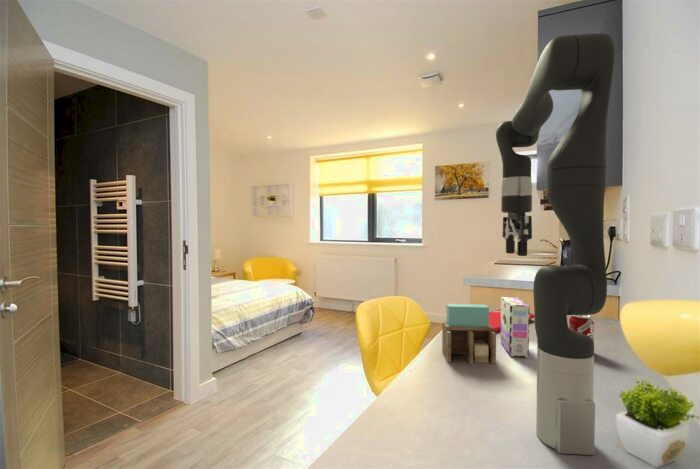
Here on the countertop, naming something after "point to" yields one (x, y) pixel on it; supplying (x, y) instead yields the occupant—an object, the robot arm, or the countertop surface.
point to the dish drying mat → (499, 320)
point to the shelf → (467, 341)
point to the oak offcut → (480, 351)
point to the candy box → (515, 327)
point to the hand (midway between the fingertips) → (515, 254)
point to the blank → (467, 315)
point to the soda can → (582, 325)
